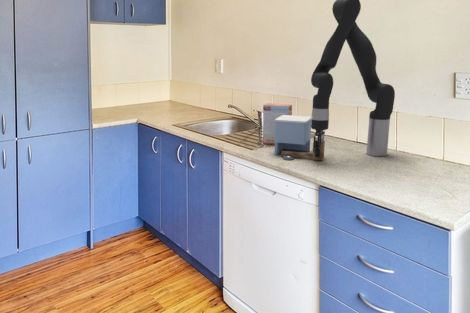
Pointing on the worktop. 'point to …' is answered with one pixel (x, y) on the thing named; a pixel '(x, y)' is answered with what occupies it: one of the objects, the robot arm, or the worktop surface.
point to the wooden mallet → (307, 155)
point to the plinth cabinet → (292, 133)
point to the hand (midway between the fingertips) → (318, 155)
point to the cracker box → (268, 120)
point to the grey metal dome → (288, 157)
